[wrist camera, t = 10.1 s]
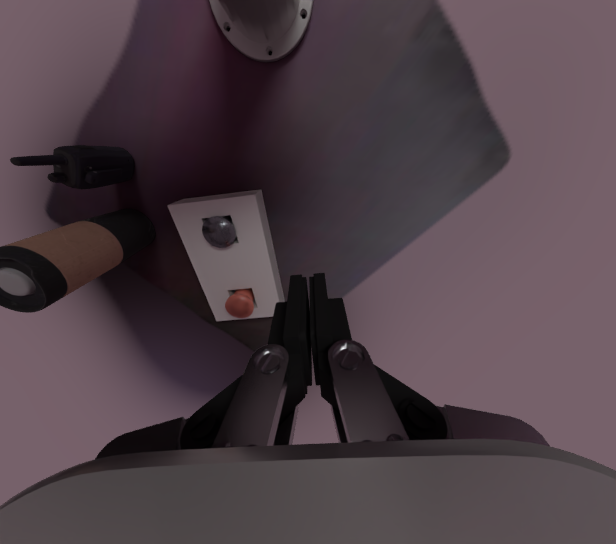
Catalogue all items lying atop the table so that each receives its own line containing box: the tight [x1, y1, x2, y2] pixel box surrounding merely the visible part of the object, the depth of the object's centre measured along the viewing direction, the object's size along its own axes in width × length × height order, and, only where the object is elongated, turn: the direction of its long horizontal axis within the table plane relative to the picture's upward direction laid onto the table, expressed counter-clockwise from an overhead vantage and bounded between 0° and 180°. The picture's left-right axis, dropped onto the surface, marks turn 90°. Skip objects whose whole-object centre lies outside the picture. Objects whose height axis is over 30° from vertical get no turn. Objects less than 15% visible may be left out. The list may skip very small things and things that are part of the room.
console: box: [167, 189, 285, 321], centre depth 41 cm, size 24×14×5 cm, turn 7°
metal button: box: [202, 215, 236, 248], centre depth 37 cm, size 5×5×4 cm
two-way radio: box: [10, 145, 134, 189], centre depth 29 cm, size 6×4×15 cm
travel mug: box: [0, 209, 155, 312], centre depth 32 cm, size 8×8×20 cm
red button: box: [225, 288, 255, 318], centre depth 42 cm, size 5×5×4 cm
